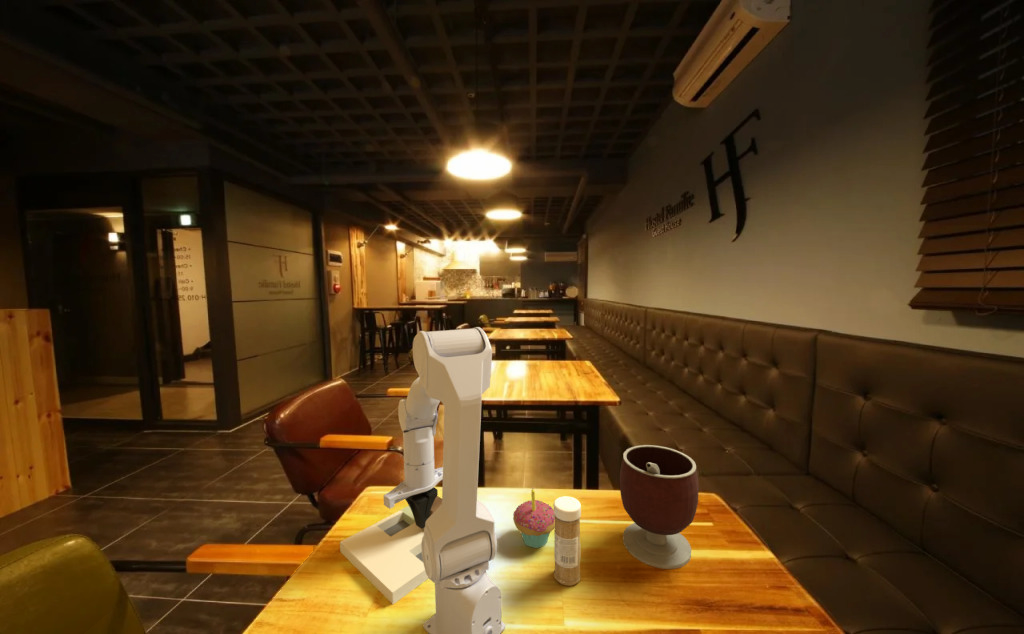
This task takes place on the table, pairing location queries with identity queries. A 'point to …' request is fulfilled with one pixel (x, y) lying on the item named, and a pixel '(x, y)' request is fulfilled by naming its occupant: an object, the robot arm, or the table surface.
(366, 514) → the table surface
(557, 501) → the sprinkles bottle
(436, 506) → the walnut block
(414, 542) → the board
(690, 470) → the mate gourd
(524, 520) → the cupcake
